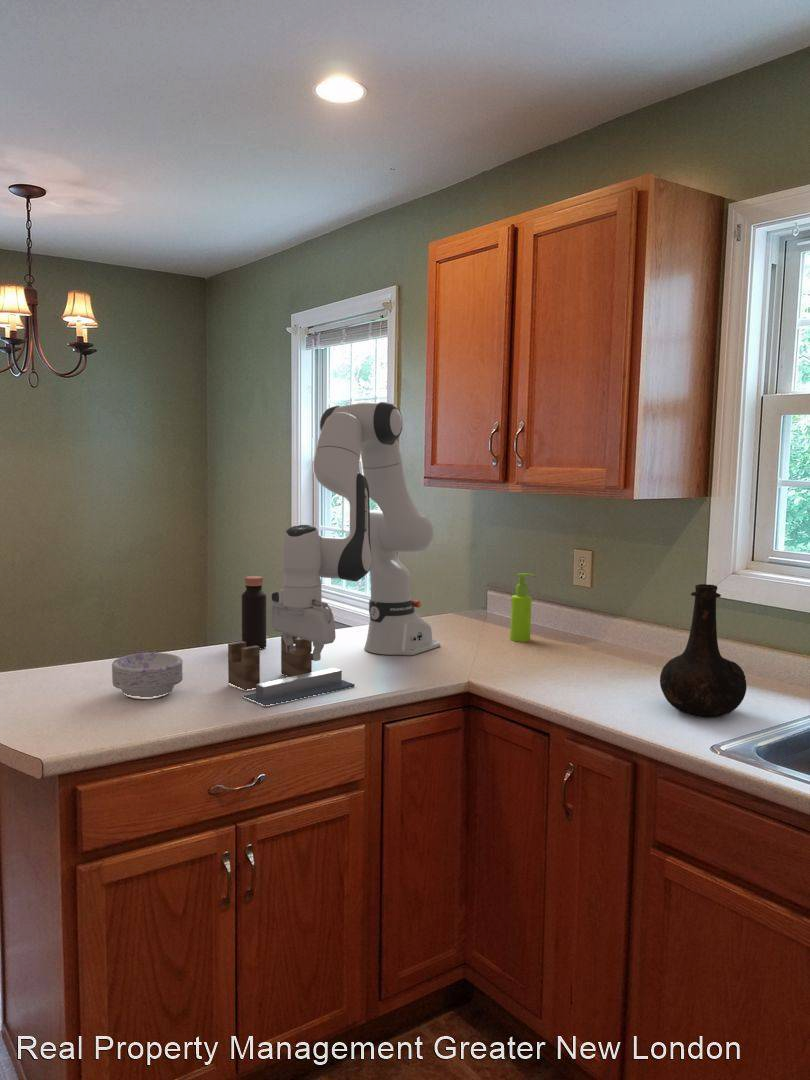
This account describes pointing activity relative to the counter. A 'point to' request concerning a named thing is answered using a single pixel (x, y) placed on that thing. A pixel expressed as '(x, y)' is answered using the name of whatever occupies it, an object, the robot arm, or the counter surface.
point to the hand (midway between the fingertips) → (303, 656)
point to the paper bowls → (147, 673)
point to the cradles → (248, 662)
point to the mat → (301, 693)
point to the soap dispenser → (521, 611)
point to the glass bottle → (703, 666)
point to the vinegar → (254, 612)
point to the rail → (298, 683)
